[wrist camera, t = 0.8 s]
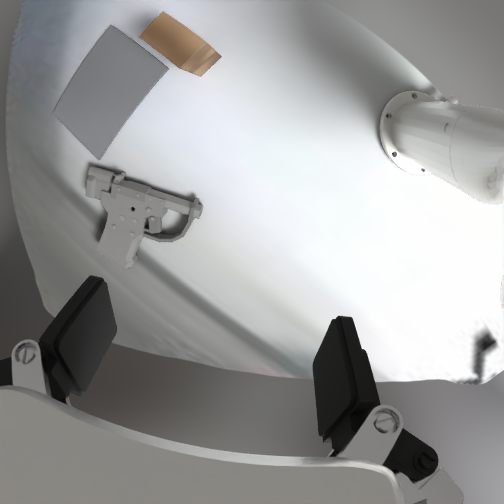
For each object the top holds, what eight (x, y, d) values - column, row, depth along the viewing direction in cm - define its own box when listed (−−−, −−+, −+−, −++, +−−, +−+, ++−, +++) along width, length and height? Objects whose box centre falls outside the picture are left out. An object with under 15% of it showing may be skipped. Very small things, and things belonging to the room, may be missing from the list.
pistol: (81, 252, 43) (85, 167, 35) (90, 244, 46) (96, 163, 38) (179, 290, 45) (201, 203, 37) (184, 279, 48) (206, 196, 40)
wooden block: (187, 29, 27) (163, 11, 19) (221, 56, 29) (205, 42, 21) (167, 49, 29) (138, 36, 21) (200, 76, 31) (179, 68, 23)
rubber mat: (112, 25, 26) (110, 25, 25) (169, 68, 30) (167, 68, 30) (54, 113, 33) (52, 113, 32) (100, 159, 37) (98, 160, 37)
